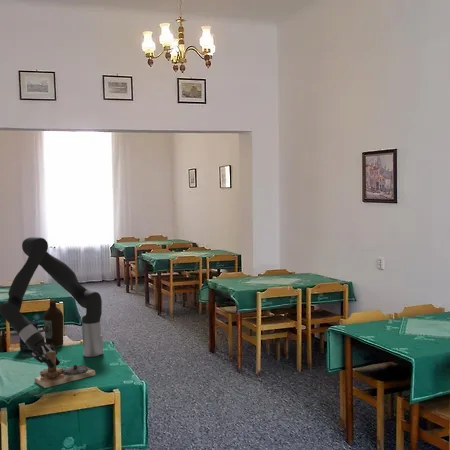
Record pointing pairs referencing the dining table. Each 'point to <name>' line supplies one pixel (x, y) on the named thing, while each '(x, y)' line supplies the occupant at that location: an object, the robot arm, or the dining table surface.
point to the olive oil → (53, 325)
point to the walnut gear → (54, 370)
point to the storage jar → (23, 346)
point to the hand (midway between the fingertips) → (55, 365)
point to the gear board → (66, 376)
